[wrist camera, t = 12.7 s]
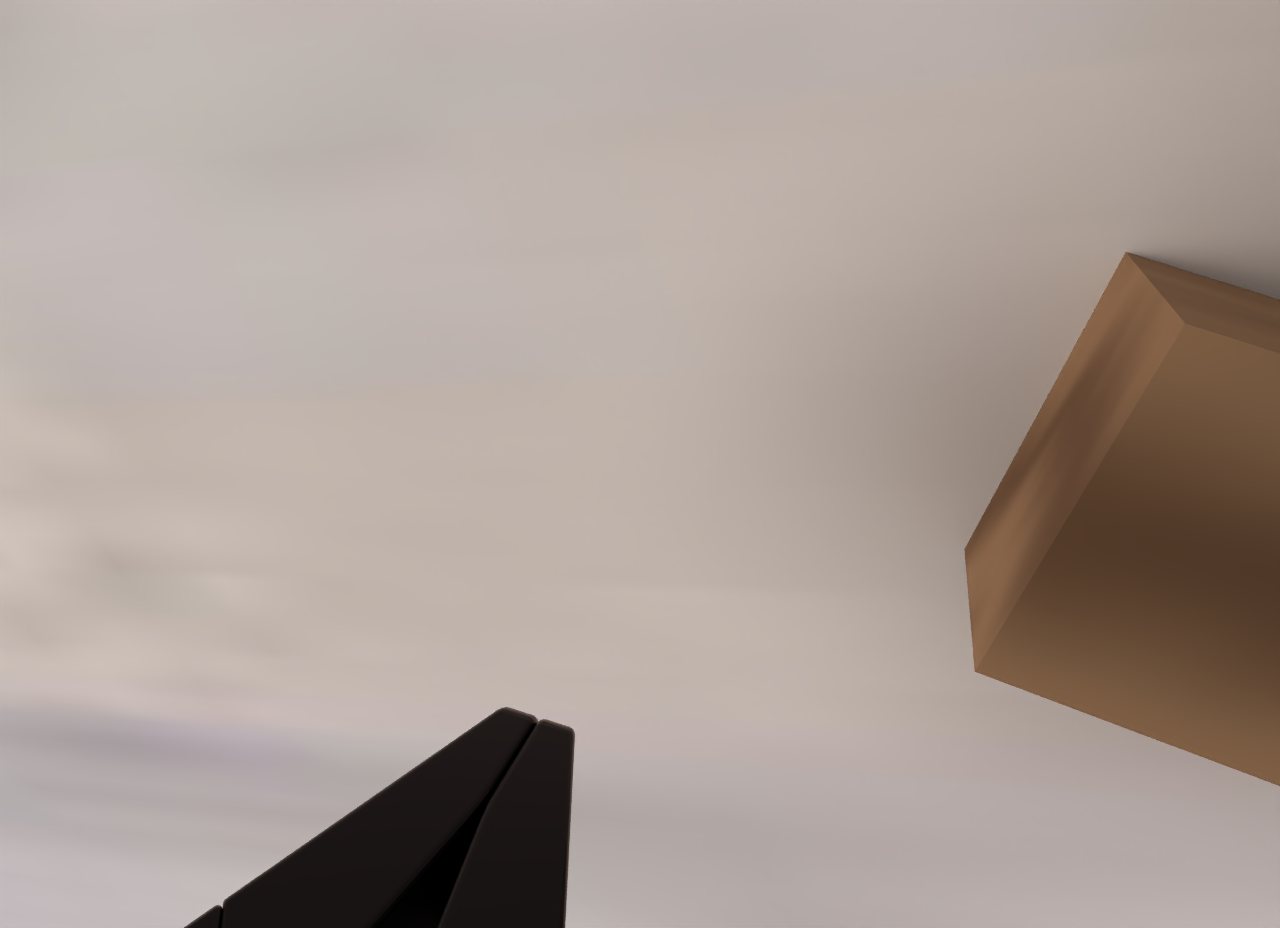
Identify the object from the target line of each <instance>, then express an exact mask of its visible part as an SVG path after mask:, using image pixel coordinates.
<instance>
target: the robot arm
mask: <svg viewBox="0 0 1280 928" xmlns="http://www.w3.org/2000/svg"><path fill="white" fill-rule="evenodd" d="M574 743H575V732H574V730H573V729H572V728H570V727H568V726H565V725H562V724H559V723H555V722H552V721H549V720H545V719H543V720H540V721H539V722H538V720H537V718H536V717H535V716H533V715H531V714H527V713H524V712H521V711H518V710H515V709H512V708H508V707H505V708H501V709H499V710H497V711H495V712H494V713H493V714H491V715H490V716H488V717H487V718H485V719H484V720H483V721H481V722H480V723H478V724H477V725H475V726H474V727H472V728H471V729H470V730H468V731H467V732H465V733H464V734H462V735H461V736H460V737H458V738H457V739H455V740H454V741H452V742H451V743H449V744H448V745H447V746H445V747H444V748H442V749H441V750H439V751H438V752H437V753H435V754H434V755H432V756H431V757H429V758H428V759H426V760H425V761H424V762H422V763H421V764H419V765H418V766H416V767H415V768H414V769H412V770H411V771H409V772H408V773H406V774H405V775H403V776H402V777H401V778H399V779H398V780H396V781H395V782H393V783H392V784H390V785H389V786H388V787H386V788H385V789H383V790H382V791H380V792H379V793H378V794H376V795H375V796H373V797H372V798H370V799H369V800H367V801H366V802H365V803H363V804H362V805H360V806H359V807H357V808H356V809H355V810H353V811H352V812H350V813H349V814H347V815H346V816H344V817H343V818H342V819H340V820H339V821H337V822H336V823H334V824H333V825H332V826H330V827H329V828H327V829H326V830H324V831H323V832H321V833H320V834H319V835H317V836H316V837H314V838H313V839H311V840H310V841H309V842H307V843H306V844H304V845H303V846H301V847H300V848H298V849H297V850H296V851H294V852H293V853H291V854H290V855H288V856H287V857H286V858H284V859H283V860H281V861H280V862H278V863H277V864H275V865H274V866H273V867H271V868H270V869H268V870H267V871H265V872H264V873H263V874H261V875H260V876H258V877H257V878H255V879H254V880H252V881H251V882H250V883H248V884H247V885H245V886H244V887H242V888H241V889H239V890H238V891H237V892H235V893H234V894H232V895H231V896H229V897H228V898H227V899H225V900H224V902H223V909H222V907H221V906H220V905H216V906H214V907H213V908H211V909H210V910H209V911H207V912H206V913H204V914H203V915H202V916H200V917H199V918H197V919H196V920H194V921H193V922H191V923H190V924H189V925H187V926H186V927H184V928H565V920H566V900H567V881H568V861H569V841H570V822H571V802H572V782H573V762H574Z"/></svg>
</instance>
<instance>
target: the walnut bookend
mask: <svg viewBox="0 0 1280 928" xmlns="http://www.w3.org/2000/svg"><path fill="white" fill-rule="evenodd" d="M965 559H966V571H967V583H968V595H969V607H970V619H971V631H972V643H973V655H974V667H975V672H977V673H980V674H983V675H985V676H988V677H991V678H993V679H996V680H999V681H1001V682H1004V683H1007V684H1009V685H1012V686H1015V687H1017V688H1020V689H1023V690H1025V691H1028V692H1031V693H1033V694H1036V695H1039V696H1041V697H1044V698H1047V699H1049V700H1052V701H1055V702H1057V703H1060V704H1063V705H1065V706H1068V707H1071V708H1073V709H1076V710H1079V711H1081V712H1084V713H1087V714H1089V715H1092V716H1095V717H1097V718H1100V719H1103V720H1105V721H1108V722H1111V723H1113V724H1116V725H1119V726H1121V727H1124V728H1127V729H1129V730H1132V731H1135V732H1137V733H1140V734H1143V735H1145V736H1148V737H1151V738H1153V739H1156V740H1159V741H1161V742H1164V743H1167V744H1169V745H1172V746H1175V747H1177V748H1180V749H1183V750H1185V751H1188V752H1191V753H1193V754H1196V755H1199V756H1201V757H1204V758H1207V759H1209V760H1212V761H1215V762H1217V763H1220V764H1223V765H1225V766H1228V767H1231V768H1233V769H1236V770H1239V771H1241V772H1244V773H1247V774H1249V775H1252V776H1255V777H1257V778H1260V779H1263V780H1265V781H1268V782H1271V783H1273V784H1276V785H1279V786H1280V300H1278V299H1275V298H1271V297H1268V296H1265V295H1262V294H1259V293H1255V292H1252V291H1249V290H1246V289H1242V288H1239V287H1236V286H1233V285H1230V284H1226V283H1223V282H1220V281H1217V280H1214V279H1210V278H1207V277H1204V276H1201V275H1197V274H1194V273H1191V272H1188V271H1185V270H1181V269H1178V268H1175V267H1172V266H1169V265H1165V264H1162V263H1159V262H1156V261H1152V260H1149V259H1146V258H1143V257H1140V256H1136V255H1133V254H1130V253H1127V252H1126V253H1125V255H1124V256H1123V258H1122V260H1121V262H1120V264H1119V266H1118V268H1117V269H1116V271H1115V273H1114V275H1113V277H1112V279H1111V280H1110V282H1109V284H1108V286H1107V288H1106V290H1105V291H1104V293H1103V295H1102V297H1101V299H1100V301H1099V303H1098V304H1097V306H1096V308H1095V310H1094V312H1093V314H1092V315H1091V317H1090V319H1089V321H1088V323H1087V325H1086V327H1085V328H1084V330H1083V332H1082V334H1081V336H1080V338H1079V339H1078V341H1077V343H1076V345H1075V347H1074V349H1073V350H1072V352H1071V354H1070V356H1069V358H1068V360H1067V362H1066V363H1065V365H1064V367H1063V369H1062V371H1061V373H1060V374H1059V376H1058V378H1057V380H1056V382H1055V384H1054V385H1053V387H1052V389H1051V391H1050V393H1049V395H1048V397H1047V398H1046V400H1045V402H1044V404H1043V406H1042V408H1041V409H1040V411H1039V413H1038V415H1037V417H1036V419H1035V420H1034V422H1033V424H1032V426H1031V428H1030V430H1029V432H1028V433H1027V435H1026V437H1025V439H1024V441H1023V443H1022V444H1021V446H1020V448H1019V450H1018V452H1017V454H1016V456H1015V457H1014V459H1013V461H1012V463H1011V465H1010V467H1009V468H1008V470H1007V472H1006V474H1005V476H1004V478H1003V479H1002V481H1001V483H1000V485H999V487H998V489H997V491H996V492H995V494H994V496H993V498H992V500H991V502H990V503H989V505H988V507H987V509H986V511H985V513H984V514H983V516H982V518H981V520H980V522H979V524H978V526H977V527H976V529H975V531H974V533H973V535H972V537H971V538H970V540H969V542H968V544H967V546H966V548H965Z"/></svg>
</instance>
